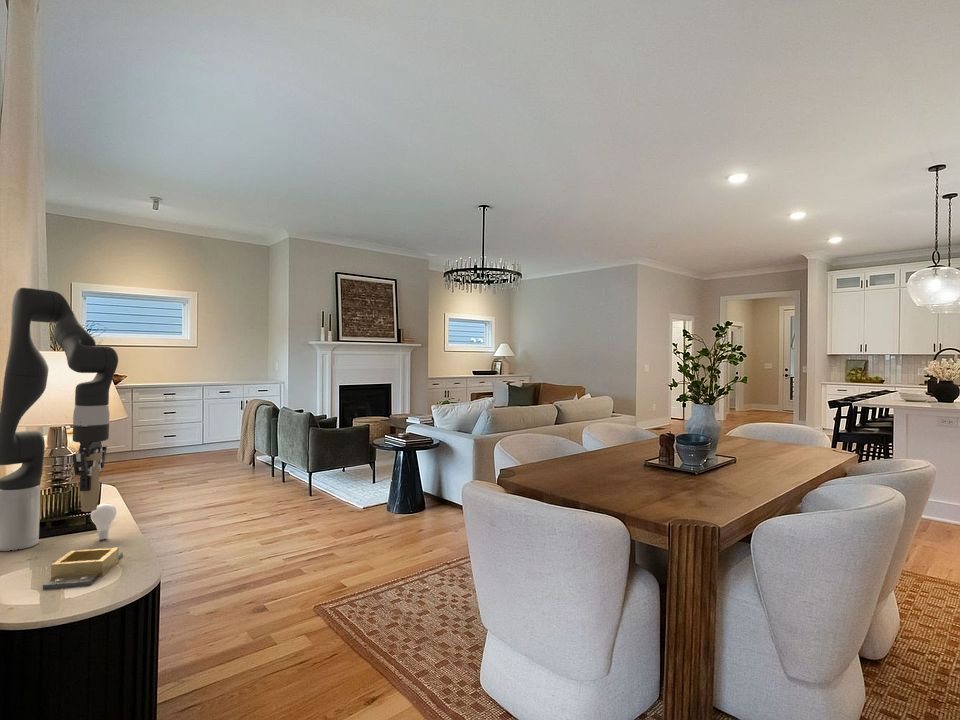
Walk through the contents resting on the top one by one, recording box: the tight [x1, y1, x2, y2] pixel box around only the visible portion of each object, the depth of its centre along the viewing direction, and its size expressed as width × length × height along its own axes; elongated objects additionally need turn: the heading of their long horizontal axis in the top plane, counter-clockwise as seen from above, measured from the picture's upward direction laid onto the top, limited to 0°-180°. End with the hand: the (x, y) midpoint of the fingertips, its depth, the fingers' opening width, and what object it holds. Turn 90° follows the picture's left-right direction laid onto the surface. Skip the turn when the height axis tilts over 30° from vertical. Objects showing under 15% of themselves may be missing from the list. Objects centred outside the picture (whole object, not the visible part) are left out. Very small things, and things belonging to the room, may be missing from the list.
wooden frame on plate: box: [42, 547, 124, 590], centre depth 132 cm, size 11×20×4 cm, turn 16°
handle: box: [79, 452, 102, 513], centre depth 133 cm, size 5×6×15 cm
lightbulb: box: [90, 502, 117, 541], centre depth 155 cm, size 6×6×11 cm
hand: (89, 488), depth 133 cm, fingers closed on handle, 4 cm apart
